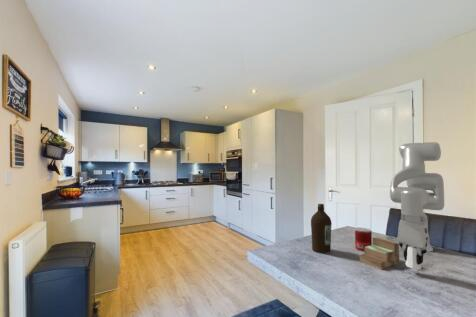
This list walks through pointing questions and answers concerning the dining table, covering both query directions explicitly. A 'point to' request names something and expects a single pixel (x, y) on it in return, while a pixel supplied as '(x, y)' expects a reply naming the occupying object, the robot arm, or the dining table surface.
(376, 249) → the stand
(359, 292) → the dining table surface
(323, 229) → the olive oil
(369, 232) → the canned food
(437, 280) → the dining table surface
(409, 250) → the pepper shaker
